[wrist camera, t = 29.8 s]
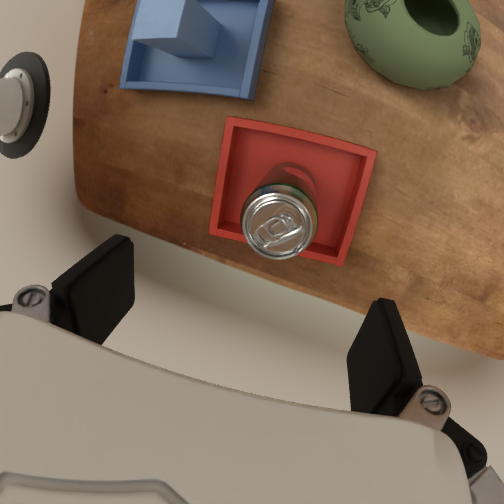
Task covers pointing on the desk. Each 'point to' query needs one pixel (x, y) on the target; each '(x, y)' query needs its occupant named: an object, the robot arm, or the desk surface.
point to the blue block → (177, 28)
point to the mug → (415, 39)
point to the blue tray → (204, 69)
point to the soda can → (281, 212)
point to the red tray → (307, 155)
